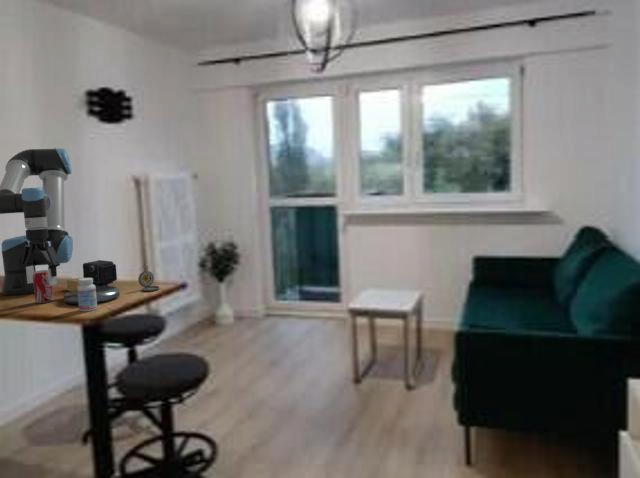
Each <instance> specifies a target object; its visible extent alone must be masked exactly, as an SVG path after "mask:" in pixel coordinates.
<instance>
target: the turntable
mask: <svg viewBox="0 0 640 478" xmlns="http://www.w3.org/2000/svg"><path fill="white" fill-rule="evenodd" d="M66 285H67V286H66V288H67V291H69V292H66V293H64V294H63V301H64V303H67V304H71V305H72V304H74V305H79V303H78V291H77V288H78V286H80V284H79V279H67V280H66ZM119 296H120V288H119V287H115V286H108V287H100V286H99V287H96V298H97V303H100V302H107V301H110V300H114V299H116V298H118V297H119Z"/></svg>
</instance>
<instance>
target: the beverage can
mask: <svg viewBox="0 0 640 478" xmlns="http://www.w3.org/2000/svg"><path fill="white" fill-rule="evenodd" d="M33 285H34V292H33V293H34V302H36V303H38V304H47V303H51V301H52V300H54V293H53V285H52V286H50V284H49V274H48V269H43V270H36V272H34V274H33Z"/></svg>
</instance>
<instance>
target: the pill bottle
mask: <svg viewBox="0 0 640 478" xmlns="http://www.w3.org/2000/svg"><path fill="white" fill-rule="evenodd" d="M78 280H79V284H80V286H78V288H77V291H78V303H79V304H78V310H79V312H83V313H85V312H92V311H95V310H98V302H97V298H96V287H95V285H93V284H92V283H93V278H84V277H82V278H79V279H78Z"/></svg>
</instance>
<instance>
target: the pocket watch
mask: <svg viewBox="0 0 640 478" xmlns="http://www.w3.org/2000/svg"><path fill="white" fill-rule="evenodd" d="M141 268H142V269H143V270H144V271H142V272H141V273H140V274H139V275H138V283H139V285H140V286H141V287H143V288H142V291H144V292H155V291H158V290H159V289H160V286H157V285H153V283H154V280H155V277H154V274H153V272H151V271H149V270H148V268H149V266H148V265H146V264H144V265H142V267H141Z"/></svg>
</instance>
